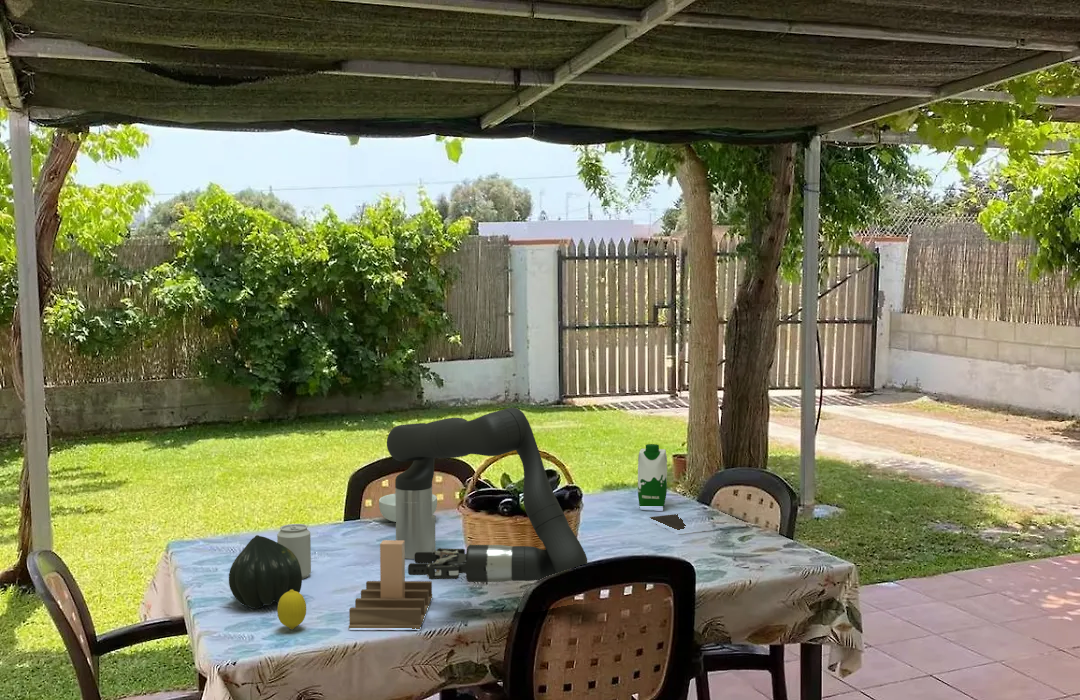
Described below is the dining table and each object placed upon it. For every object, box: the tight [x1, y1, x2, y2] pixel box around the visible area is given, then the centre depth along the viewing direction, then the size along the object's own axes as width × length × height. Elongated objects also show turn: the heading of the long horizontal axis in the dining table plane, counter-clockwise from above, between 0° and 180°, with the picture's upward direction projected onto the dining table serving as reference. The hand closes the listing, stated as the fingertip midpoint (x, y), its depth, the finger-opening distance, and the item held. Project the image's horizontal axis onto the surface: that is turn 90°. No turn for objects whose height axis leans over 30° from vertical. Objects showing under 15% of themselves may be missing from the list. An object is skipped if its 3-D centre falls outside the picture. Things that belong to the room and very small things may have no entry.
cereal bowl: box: [378, 493, 438, 523], centre depth 277 cm, size 17×17×7 cm
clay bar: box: [379, 539, 406, 598], centre depth 199 cm, size 3×4×14 cm, turn 88°
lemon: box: [276, 590, 307, 630], centre depth 190 cm, size 6×6×8 cm
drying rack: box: [348, 580, 433, 629], centre depth 199 cm, size 20×14×4 cm
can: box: [276, 523, 312, 580], centre depth 224 cm, size 8×8×12 cm
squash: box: [228, 534, 303, 609], centre depth 206 cm, size 14×15×15 cm
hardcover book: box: [649, 509, 749, 530], centre depth 275 cm, size 16×23×2 cm
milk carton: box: [637, 443, 668, 507], centre depth 294 cm, size 9×9×20 cm
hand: (411, 563), depth 198 cm, fingers open, 8 cm apart
